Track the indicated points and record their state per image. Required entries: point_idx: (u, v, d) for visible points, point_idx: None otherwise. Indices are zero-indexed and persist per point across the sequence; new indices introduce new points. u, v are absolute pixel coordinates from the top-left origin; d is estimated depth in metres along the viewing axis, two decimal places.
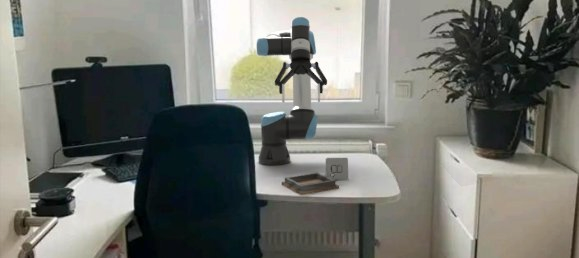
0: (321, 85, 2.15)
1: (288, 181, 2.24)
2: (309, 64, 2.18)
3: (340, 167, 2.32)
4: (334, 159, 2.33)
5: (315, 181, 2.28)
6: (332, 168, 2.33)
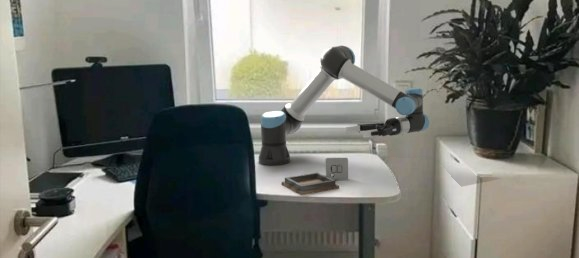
0: None
1: (288, 181, 2.24)
2: None
3: (340, 167, 2.32)
4: (334, 159, 2.33)
5: (315, 181, 2.28)
6: (332, 168, 2.33)
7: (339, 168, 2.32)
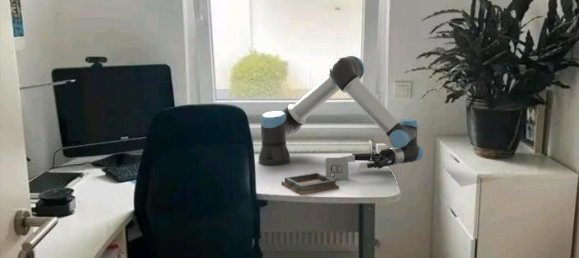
0: None
1: (288, 181, 2.24)
2: None
3: (340, 167, 2.32)
4: (334, 159, 2.33)
5: (315, 181, 2.28)
6: (332, 168, 2.33)
7: (339, 168, 2.32)
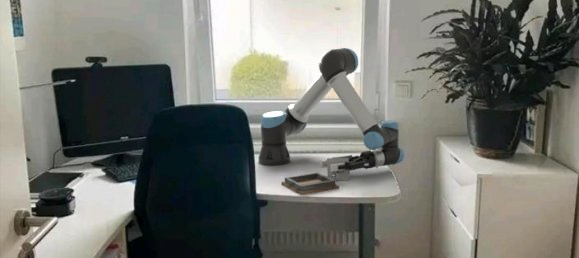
0: None
1: (288, 181, 2.24)
2: None
3: None
4: (335, 159, 2.32)
5: (315, 181, 2.28)
6: None
7: None
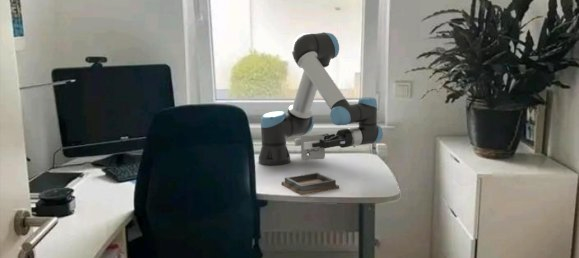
0: None
1: (288, 181, 2.24)
2: None
3: None
4: (309, 137, 2.20)
5: (315, 181, 2.28)
6: None
7: None
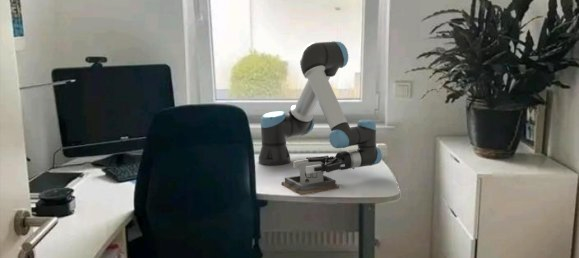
0: None
1: (288, 181, 2.24)
2: None
3: (315, 172, 2.22)
4: (308, 164, 2.22)
5: None
6: None
7: (314, 173, 2.22)
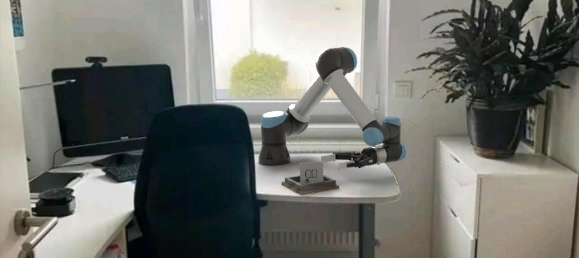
0: None
1: (288, 181, 2.24)
2: None
3: (315, 172, 2.22)
4: (308, 164, 2.22)
5: None
6: (306, 173, 2.22)
7: (314, 173, 2.22)
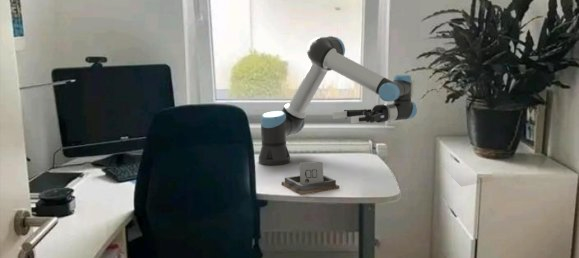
0: None
1: (288, 181, 2.24)
2: None
3: (315, 172, 2.22)
4: (308, 164, 2.22)
5: None
6: (306, 173, 2.22)
7: (314, 173, 2.22)
